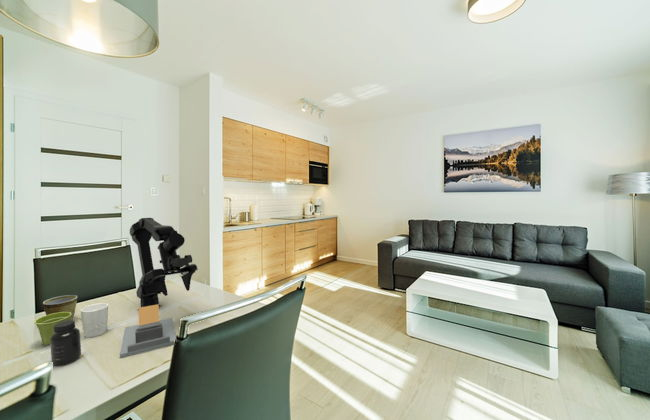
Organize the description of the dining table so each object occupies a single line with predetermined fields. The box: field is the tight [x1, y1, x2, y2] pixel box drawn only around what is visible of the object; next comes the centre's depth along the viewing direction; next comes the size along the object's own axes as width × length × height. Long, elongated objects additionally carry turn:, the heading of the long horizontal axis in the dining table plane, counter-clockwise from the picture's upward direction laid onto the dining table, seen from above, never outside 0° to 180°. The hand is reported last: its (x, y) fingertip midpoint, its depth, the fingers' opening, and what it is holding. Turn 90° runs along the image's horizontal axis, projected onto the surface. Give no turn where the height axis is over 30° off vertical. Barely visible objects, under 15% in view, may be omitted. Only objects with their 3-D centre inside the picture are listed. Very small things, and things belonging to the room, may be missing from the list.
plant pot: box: [33, 312, 71, 346], centre depth 97 cm, size 9×9×9 cm
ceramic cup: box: [42, 294, 78, 320], centre depth 110 cm, size 13×10×10 cm
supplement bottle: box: [49, 319, 82, 367], centre depth 86 cm, size 7×7×12 cm
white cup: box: [80, 302, 109, 338], centre depth 102 cm, size 8×8×10 cm
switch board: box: [119, 317, 177, 359], centre depth 100 cm, size 21×16×5 cm
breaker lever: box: [137, 304, 161, 330], centre depth 97 cm, size 2×7×7 cm, turn 122°
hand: (177, 292), depth 106 cm, fingers open, 9 cm apart
